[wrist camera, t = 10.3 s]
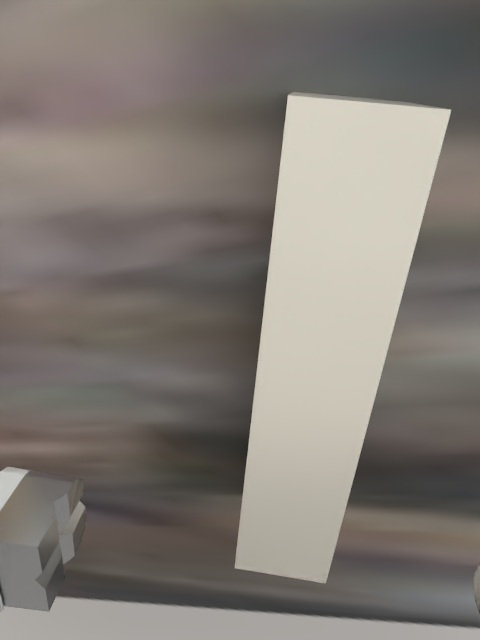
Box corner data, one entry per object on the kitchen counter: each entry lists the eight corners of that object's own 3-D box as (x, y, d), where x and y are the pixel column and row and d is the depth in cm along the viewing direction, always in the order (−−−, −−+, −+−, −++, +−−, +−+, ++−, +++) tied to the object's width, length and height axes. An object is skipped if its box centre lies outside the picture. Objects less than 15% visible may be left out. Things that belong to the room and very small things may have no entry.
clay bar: (293, 91, 14) (288, 95, 9) (402, 101, 13) (451, 109, 9) (249, 464, 21) (234, 568, 16) (321, 475, 20) (325, 583, 16)
